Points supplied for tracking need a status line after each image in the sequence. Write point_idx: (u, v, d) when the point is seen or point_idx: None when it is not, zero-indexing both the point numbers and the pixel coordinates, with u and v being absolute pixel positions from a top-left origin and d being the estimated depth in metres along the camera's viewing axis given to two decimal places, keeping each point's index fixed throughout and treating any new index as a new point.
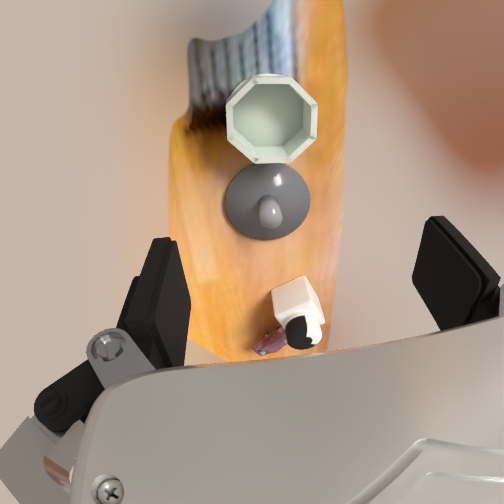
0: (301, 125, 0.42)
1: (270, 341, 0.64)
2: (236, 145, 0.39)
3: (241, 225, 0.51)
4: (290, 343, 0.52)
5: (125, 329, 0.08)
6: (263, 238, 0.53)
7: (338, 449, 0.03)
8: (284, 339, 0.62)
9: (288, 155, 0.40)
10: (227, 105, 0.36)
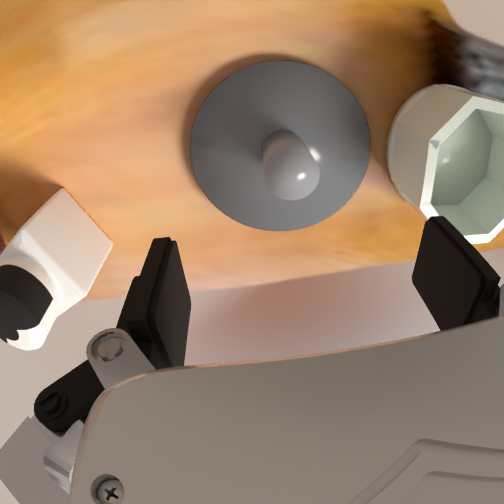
0: None
1: None
2: (463, 110, 0.15)
3: (224, 97, 0.20)
4: None
5: (125, 329, 0.08)
6: (193, 149, 0.22)
7: (338, 449, 0.03)
8: None
9: None
10: None
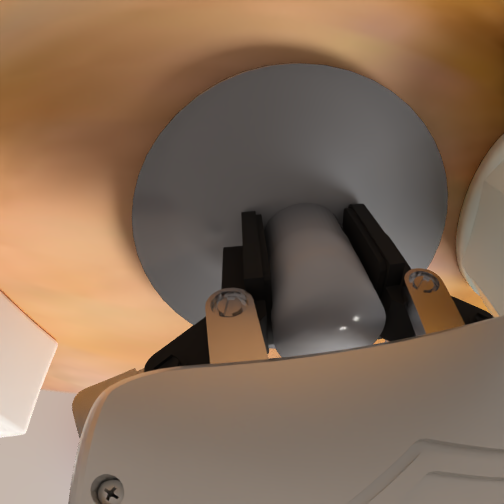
0: None
1: None
2: None
3: (188, 141, 0.10)
4: None
5: None
6: (140, 239, 0.12)
7: (338, 449, 0.03)
8: None
9: None
10: None
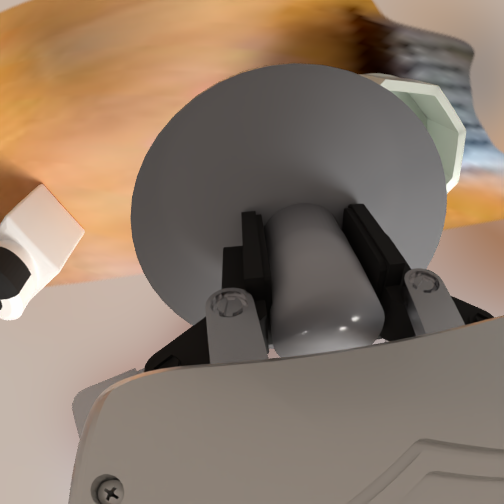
0: None
1: None
2: None
3: (186, 141, 0.10)
4: None
5: None
6: (138, 239, 0.12)
7: (339, 449, 0.03)
8: None
9: None
10: (437, 88, 0.18)
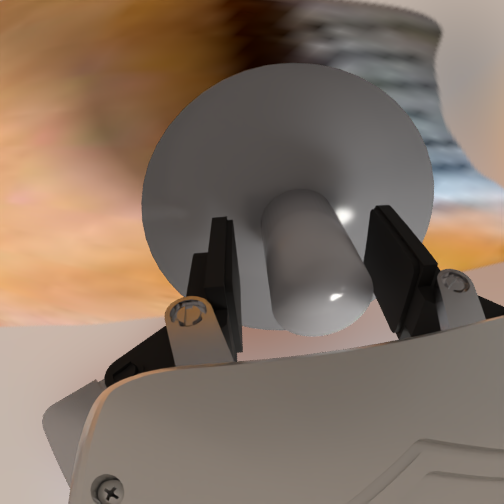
0: None
1: None
2: None
3: (194, 132, 0.11)
4: None
5: None
6: (148, 223, 0.13)
7: (338, 449, 0.03)
8: None
9: None
10: None
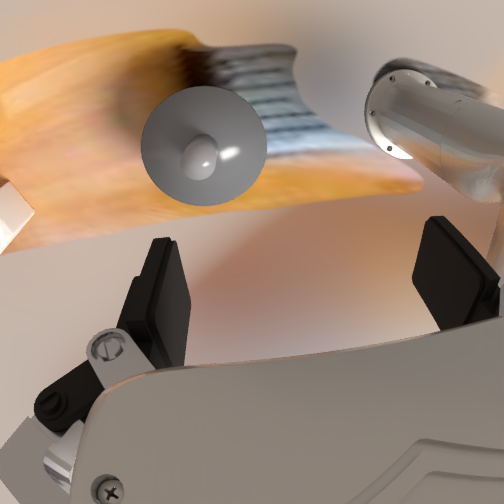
0: None
1: None
2: None
3: (160, 114, 0.29)
4: None
5: (125, 329, 0.08)
6: (143, 151, 0.31)
7: (338, 449, 0.03)
8: None
9: None
10: None
